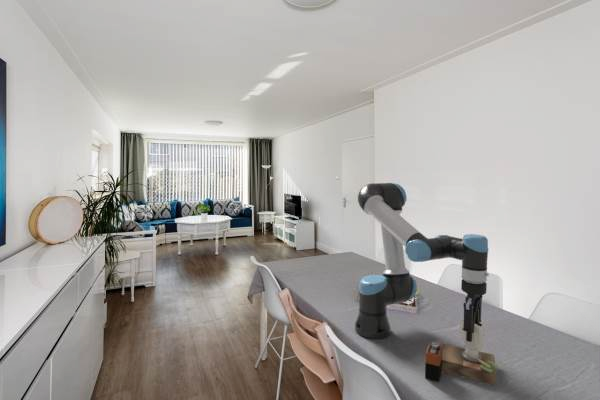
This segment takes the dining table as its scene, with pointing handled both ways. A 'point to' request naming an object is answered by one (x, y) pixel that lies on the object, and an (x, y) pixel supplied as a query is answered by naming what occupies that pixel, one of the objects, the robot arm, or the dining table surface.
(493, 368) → the board
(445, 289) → the dining table surface
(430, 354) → the battery
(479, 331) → the peg knob
